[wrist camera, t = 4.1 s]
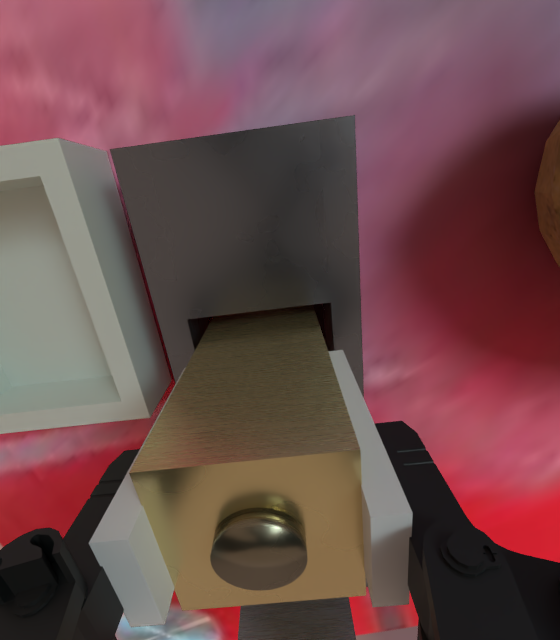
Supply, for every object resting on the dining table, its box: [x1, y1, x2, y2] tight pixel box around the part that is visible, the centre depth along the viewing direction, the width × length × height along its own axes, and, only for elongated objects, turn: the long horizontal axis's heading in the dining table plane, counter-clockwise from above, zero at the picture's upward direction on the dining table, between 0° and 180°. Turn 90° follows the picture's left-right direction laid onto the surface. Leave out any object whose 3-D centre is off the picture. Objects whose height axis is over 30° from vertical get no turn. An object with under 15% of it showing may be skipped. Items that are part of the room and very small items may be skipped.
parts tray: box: [0, 138, 172, 434], centre depth 14 cm, size 11×9×3 cm
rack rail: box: [110, 115, 368, 587], centre depth 16 cm, size 24×8×3 cm, turn 7°
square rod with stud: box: [238, 597, 356, 640], centre depth 15 cm, size 4×4×10 cm
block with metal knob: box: [129, 305, 366, 611], centre depth 11 cm, size 4×4×10 cm
